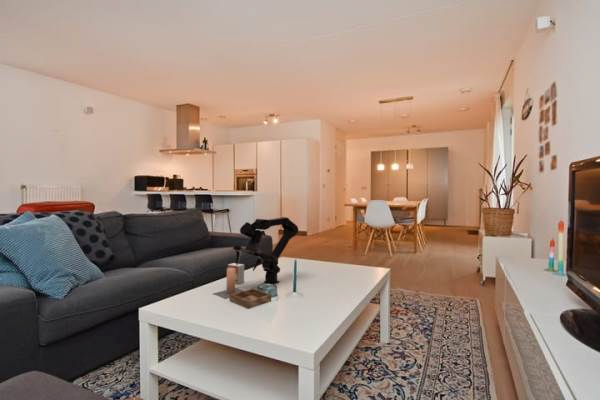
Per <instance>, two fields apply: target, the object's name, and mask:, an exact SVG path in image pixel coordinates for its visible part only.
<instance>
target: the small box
mask: <svg viewBox="0 0 600 400" xmlns="http://www.w3.org/2000/svg"><path fill="white" fill-rule="evenodd" d="M236 263H237V262H236ZM236 263H235V262H233V263H232V262H231V263H229V264H227V268H235V285H237V286H238V285H240V284H243V283H244V282H245V263H244V264H243V263H238V265H236Z"/></svg>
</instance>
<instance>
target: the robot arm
mask: <svg viewBox="0 0 600 400" xmlns="http://www.w3.org/2000/svg"><path fill="white" fill-rule="evenodd" d="M280 225H281V228H282V229H283V230H282V236H281V237H280V240H278V242H277V244H276V245H275V247H274V249H273V250H272V252H271V253H270V254H265V253H262V252H260V253H258V252H259V250H260V249H261V245H260V243H261V241H262V238H263V236H265V237H266V236H267V234H266V231H265V230H268V229H269V228H271V227H275V226H280ZM239 232H240V234H242V235H243V236H245V237H246V238H249V241H248V242H247V243H246V245H245V248H244V247H243V246H241V245H239V244H234V245H233V248H232V250H233V251H234V253H236V265H238V264H240V259H241V256H242V253H246V254H248V255H251V256H255V257H257V259H256V262H255V265H254V266H253V269H252V271H253V272H254V271H255V269H257V267H258V266H259V265H260V264H261V267H262V269H263V272H265V280H264V281H263V282H264V283H266V284H268V283H273V284H278V283H280V280H278V274H279V273H280V272H281V267H279V265H278V264H279V258H280V257H281V254H282V253H283V251H284V250H285V248H286V246H287V245H288V244H289V241H290V240H291V239H292V238H294V237H295V236H296V235H297V234H299V233H298V232H299V227H298V225H296V223H294V222H293V221H292V220H290V218H289V217H286V216H285V217H284V216H282V217H278V218H277V217H276V218H269V219H263V218H256V219H255V221H254V222H252V223H250V222H245V223H244V224H242V226H241V227H240V229H239ZM273 284H272V285H273Z"/></svg>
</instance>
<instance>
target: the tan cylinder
mask: <svg viewBox="0 0 600 400" xmlns="http://www.w3.org/2000/svg"><path fill="white" fill-rule="evenodd" d="M235 288H236V284H235V268H228V267H227V268H226V290H227V294H234V293H235Z"/></svg>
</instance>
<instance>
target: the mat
mask: <svg viewBox="0 0 600 400" xmlns="http://www.w3.org/2000/svg"><path fill="white" fill-rule="evenodd" d="M241 291H244V290H242V289H239V288H237V287H235V293H237V292H241ZM212 295H215V296H217V297H219V298H221V299H224V300H227V299H230V294H227V289H225V290H222V291H221V290H220V291H218V292H213V293H212Z"/></svg>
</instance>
